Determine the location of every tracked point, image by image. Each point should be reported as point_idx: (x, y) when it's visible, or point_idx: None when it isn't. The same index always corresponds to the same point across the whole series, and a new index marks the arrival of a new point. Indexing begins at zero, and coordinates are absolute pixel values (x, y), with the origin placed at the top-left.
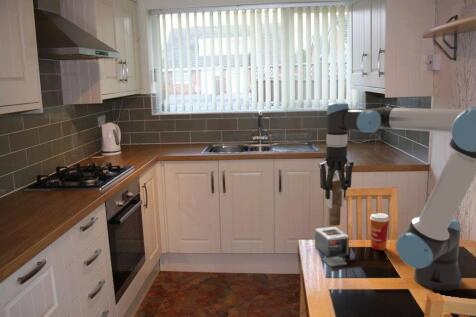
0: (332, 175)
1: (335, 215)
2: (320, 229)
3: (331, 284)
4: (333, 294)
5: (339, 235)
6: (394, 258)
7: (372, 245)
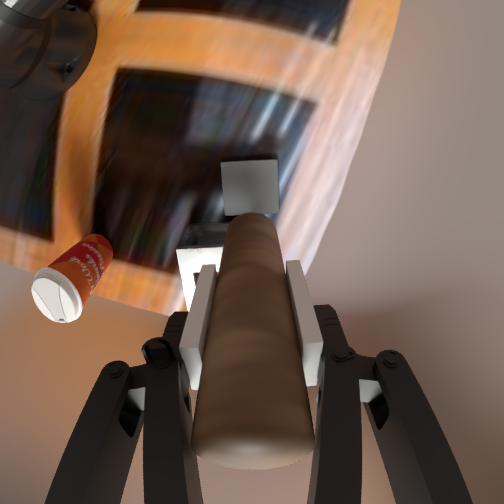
0: (331, 497)
1: (261, 233)
2: None
3: (319, 62)
4: (335, 19)
5: (205, 262)
6: (81, 179)
7: (109, 252)
